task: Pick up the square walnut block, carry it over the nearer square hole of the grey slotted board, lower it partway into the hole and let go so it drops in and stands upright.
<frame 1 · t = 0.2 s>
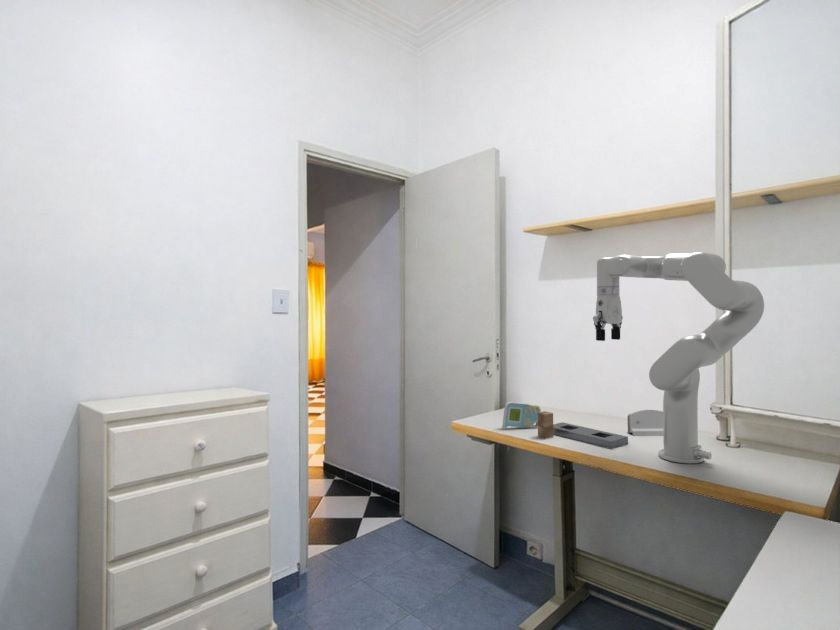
hand: (608, 340, 169), 36 cm above the table, tool pointing down, fingers open, 9 cm apart
walnut block: (545, 436, 177), on the table
grey slotted board: (585, 437, 174), on the table
hinge: (650, 434, 179), on the table
handheld gaming console: (521, 428, 190), on the table
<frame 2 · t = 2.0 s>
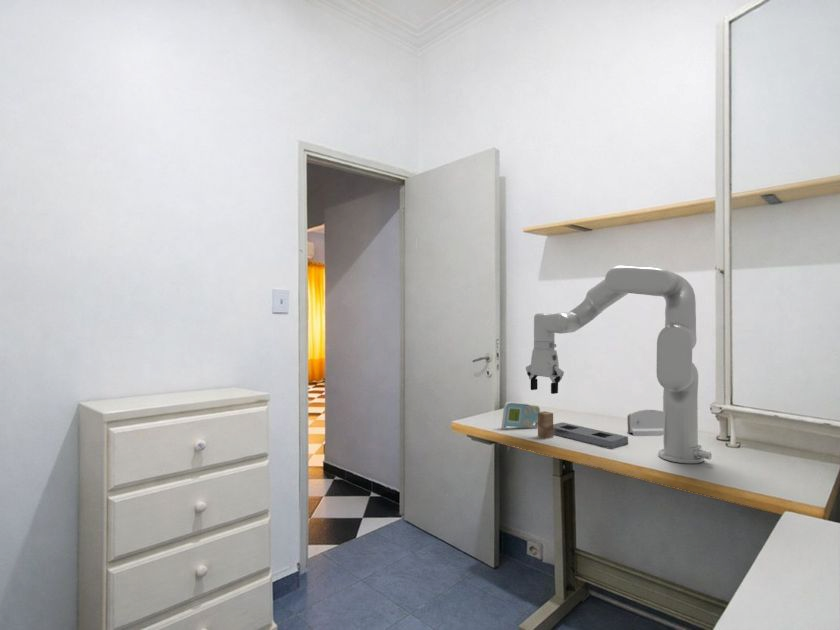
hand: (544, 391, 177), 17 cm above the table, tool pointing down, fingers open, 9 cm apart
nothing on the table moved.
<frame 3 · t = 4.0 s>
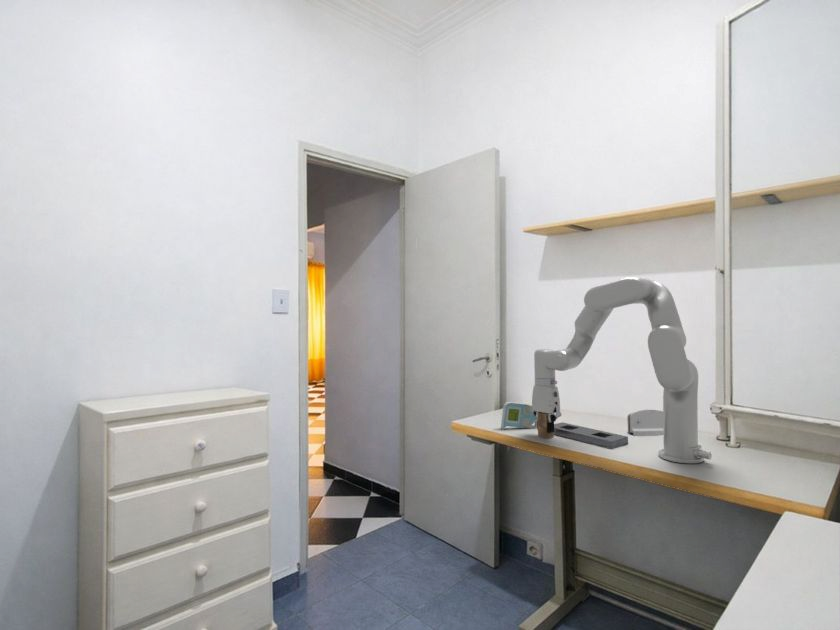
hand: (545, 430, 177), 2 cm above the table, tool pointing down, fingers closed on walnut block, 4 cm apart
walnut block: (545, 436, 177), on the table, touching gripper
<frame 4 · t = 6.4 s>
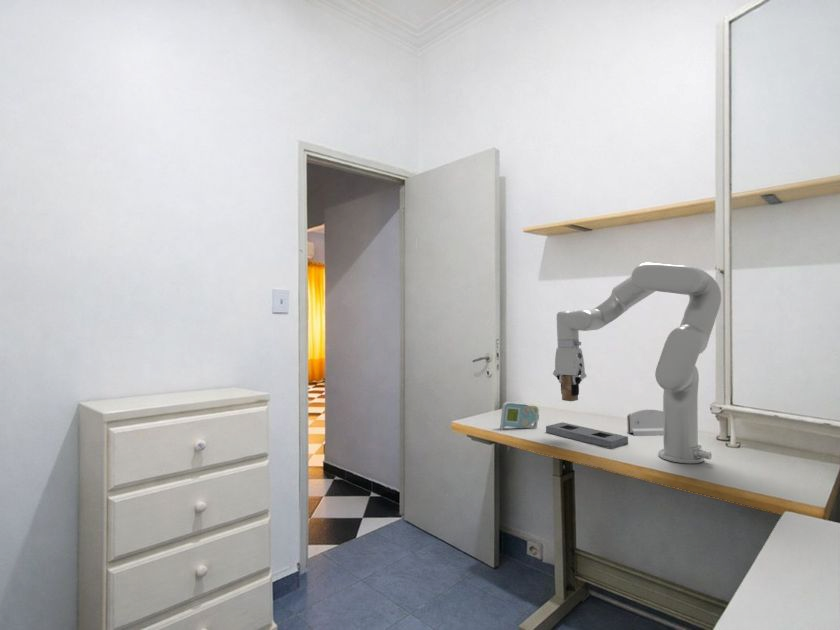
hand: (569, 393, 173), 17 cm above the table, tool pointing down, fingers closed on walnut block, 4 cm apart
walnut block: (570, 400, 173), point 14 cm above the table, touching gripper
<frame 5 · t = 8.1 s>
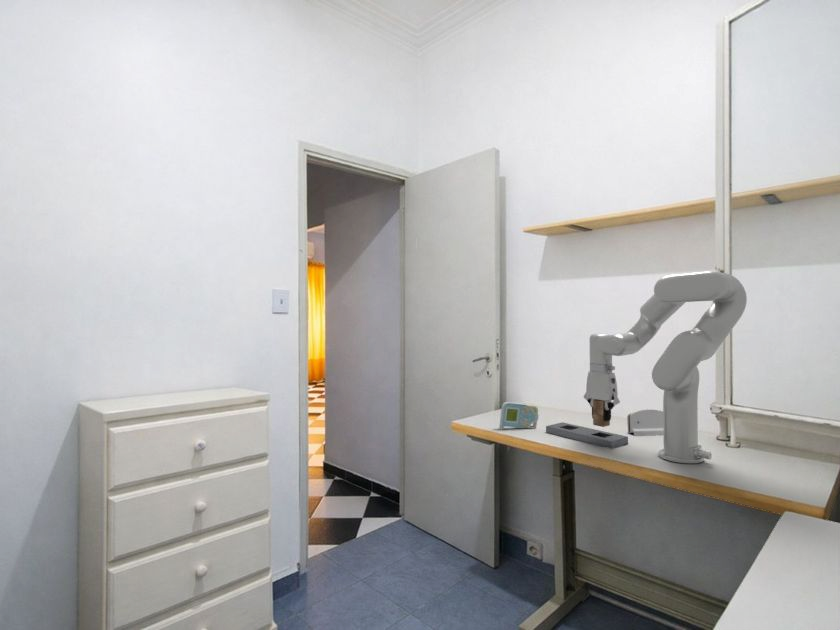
hand: (601, 418, 168), 8 cm above the table, tool pointing down, fingers closed on walnut block, 4 cm apart
walnut block: (601, 425, 168), point 6 cm above the table, touching gripper
when the fingers open (4 cm above the table, at t = 9.3 s): walnut block drops 1 cm, resting in grey slotted board.
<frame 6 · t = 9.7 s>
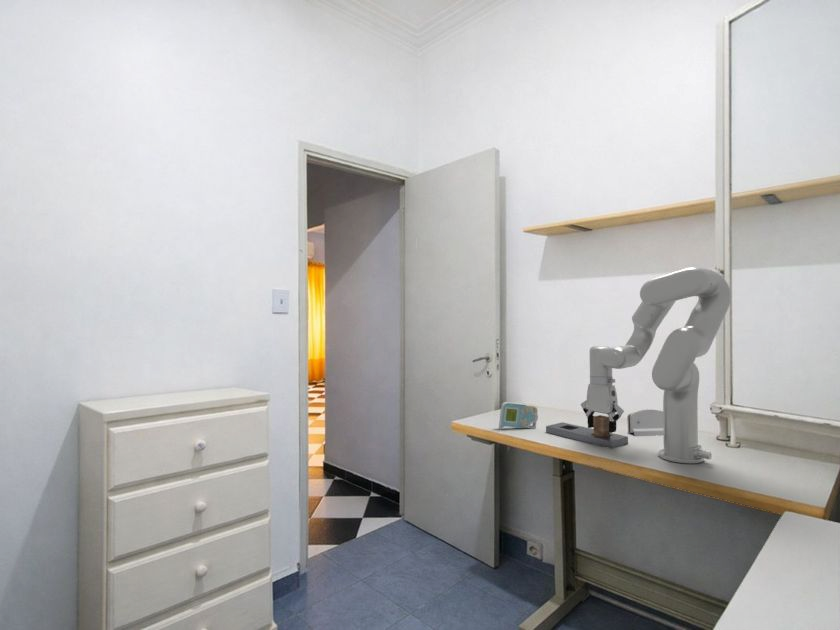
hand: (601, 429, 168), 4 cm above the table, tool pointing down, fingers open, 8 cm apart
walnut block: (602, 442, 168), resting in grey slotted board
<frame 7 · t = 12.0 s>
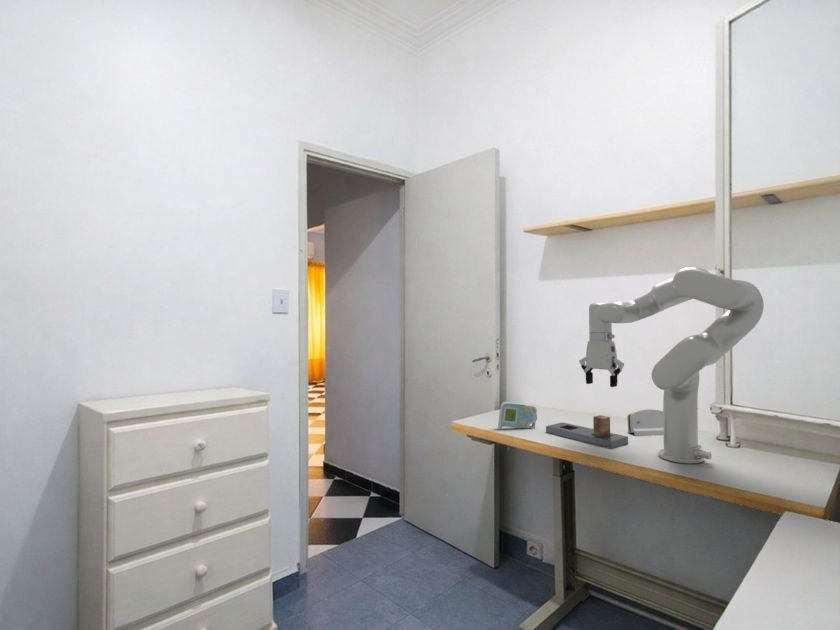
hand: (601, 385, 168), 20 cm above the table, tool pointing down, fingers open, 9 cm apart
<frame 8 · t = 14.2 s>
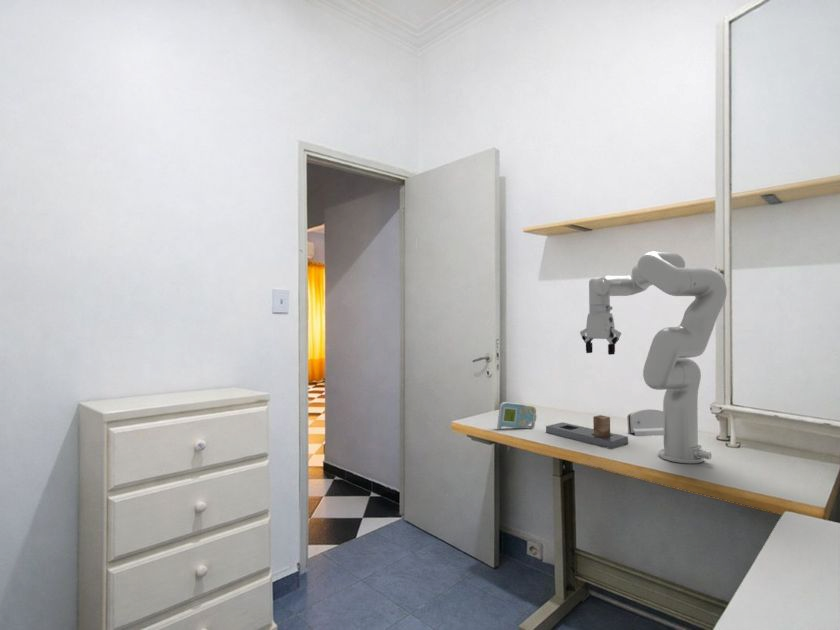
hand: (600, 353, 183), 30 cm above the table, tool pointing down, fingers open, 9 cm apart
at the end: walnut block 0.1 cm from the target spot on the grey slotted board, point 0.0 cm above the grey slotted board's base; walnut block tilted 0°; the gripper is holding nothing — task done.
